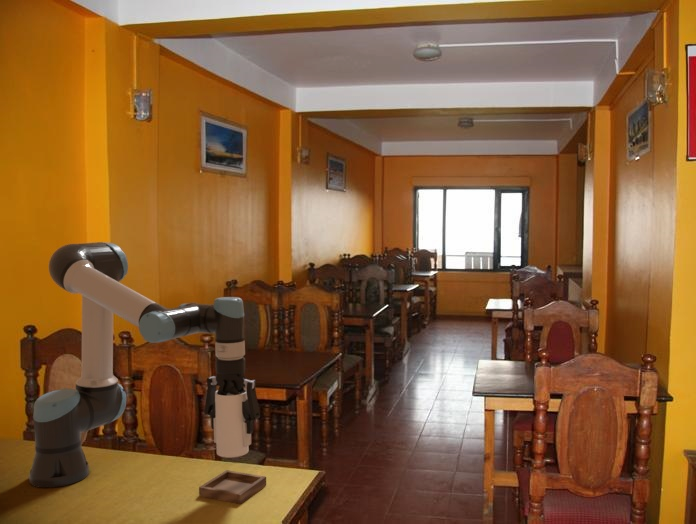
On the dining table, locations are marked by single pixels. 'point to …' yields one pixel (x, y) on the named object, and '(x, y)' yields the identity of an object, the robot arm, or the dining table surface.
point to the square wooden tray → (232, 486)
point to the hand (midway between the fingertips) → (232, 443)
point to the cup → (230, 424)
